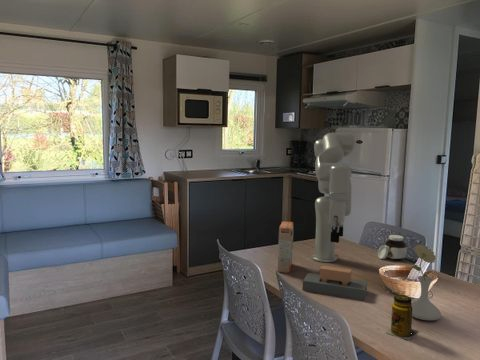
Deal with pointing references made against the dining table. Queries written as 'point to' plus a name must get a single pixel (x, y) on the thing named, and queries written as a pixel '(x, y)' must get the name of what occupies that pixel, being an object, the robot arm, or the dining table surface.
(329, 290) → the gray socket block
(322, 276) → the clip
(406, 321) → the condiment
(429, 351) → the dining table surface
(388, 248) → the spread jar
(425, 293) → the flower in vase
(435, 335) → the dining table surface
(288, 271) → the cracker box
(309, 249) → the dining table surface
